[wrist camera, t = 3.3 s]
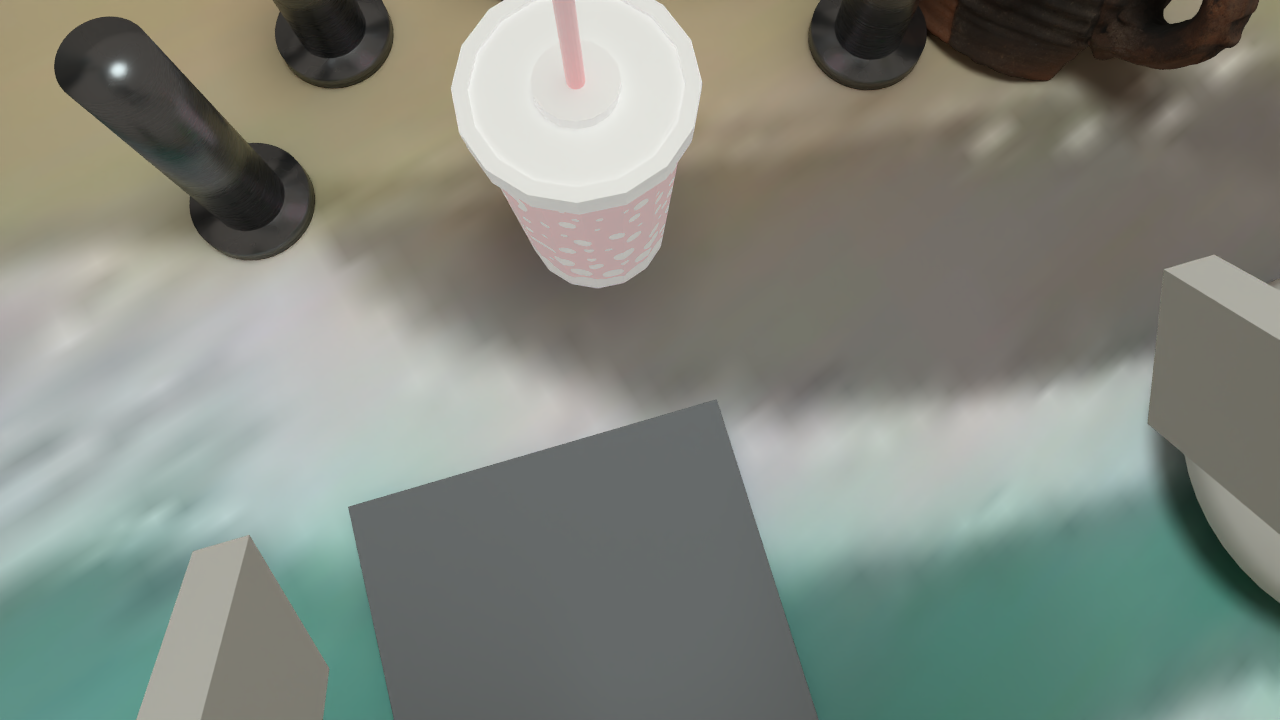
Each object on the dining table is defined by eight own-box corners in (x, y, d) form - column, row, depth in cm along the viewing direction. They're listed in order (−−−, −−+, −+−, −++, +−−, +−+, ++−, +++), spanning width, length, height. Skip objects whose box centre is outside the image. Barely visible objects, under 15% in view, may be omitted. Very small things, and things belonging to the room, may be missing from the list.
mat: (440, 915, 26) (437, 919, 26) (352, 507, 29) (348, 506, 29) (838, 788, 27) (841, 791, 26) (715, 401, 30) (716, 399, 29)
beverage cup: (508, 142, 32) (401, -183, 18) (685, 138, 32) (710, -192, 18) (505, 312, 30) (387, 97, 17) (690, 308, 30) (722, 89, 17)
